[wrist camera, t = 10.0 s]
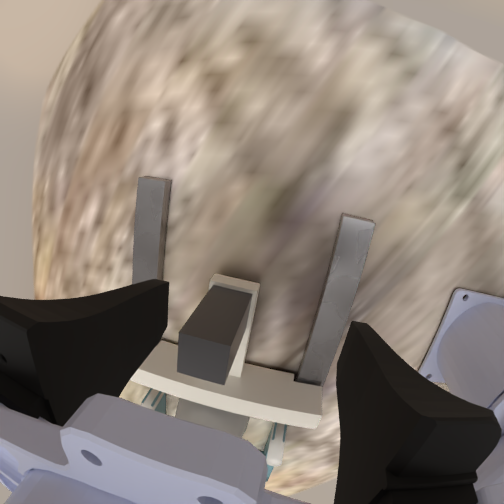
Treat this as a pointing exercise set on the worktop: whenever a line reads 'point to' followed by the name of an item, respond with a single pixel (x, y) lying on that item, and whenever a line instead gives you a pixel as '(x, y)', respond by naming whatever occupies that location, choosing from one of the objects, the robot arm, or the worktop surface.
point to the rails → (334, 291)
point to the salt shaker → (212, 417)
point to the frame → (271, 451)
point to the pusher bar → (228, 362)
